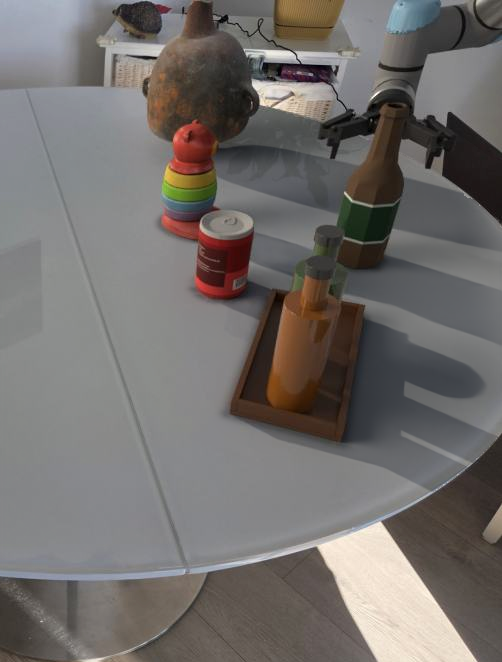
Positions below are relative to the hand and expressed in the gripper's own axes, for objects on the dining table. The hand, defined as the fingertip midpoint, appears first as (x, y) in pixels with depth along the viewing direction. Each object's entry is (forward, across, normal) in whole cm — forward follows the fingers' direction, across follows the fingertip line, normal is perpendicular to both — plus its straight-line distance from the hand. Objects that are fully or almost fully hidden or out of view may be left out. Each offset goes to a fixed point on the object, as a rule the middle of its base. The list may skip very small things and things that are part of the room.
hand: (380, 155), depth 99 cm
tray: (+37, +4, -14) cm, 40 cm away
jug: (-28, +36, -14) cm, 48 cm away
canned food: (+23, +18, -14) cm, 32 cm away
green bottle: (+38, +4, -13) cm, 40 cm away
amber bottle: (+45, +4, -13) cm, 47 cm away
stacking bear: (+5, +28, -14) cm, 32 cm away
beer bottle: (+8, 0, -14) cm, 16 cm away
